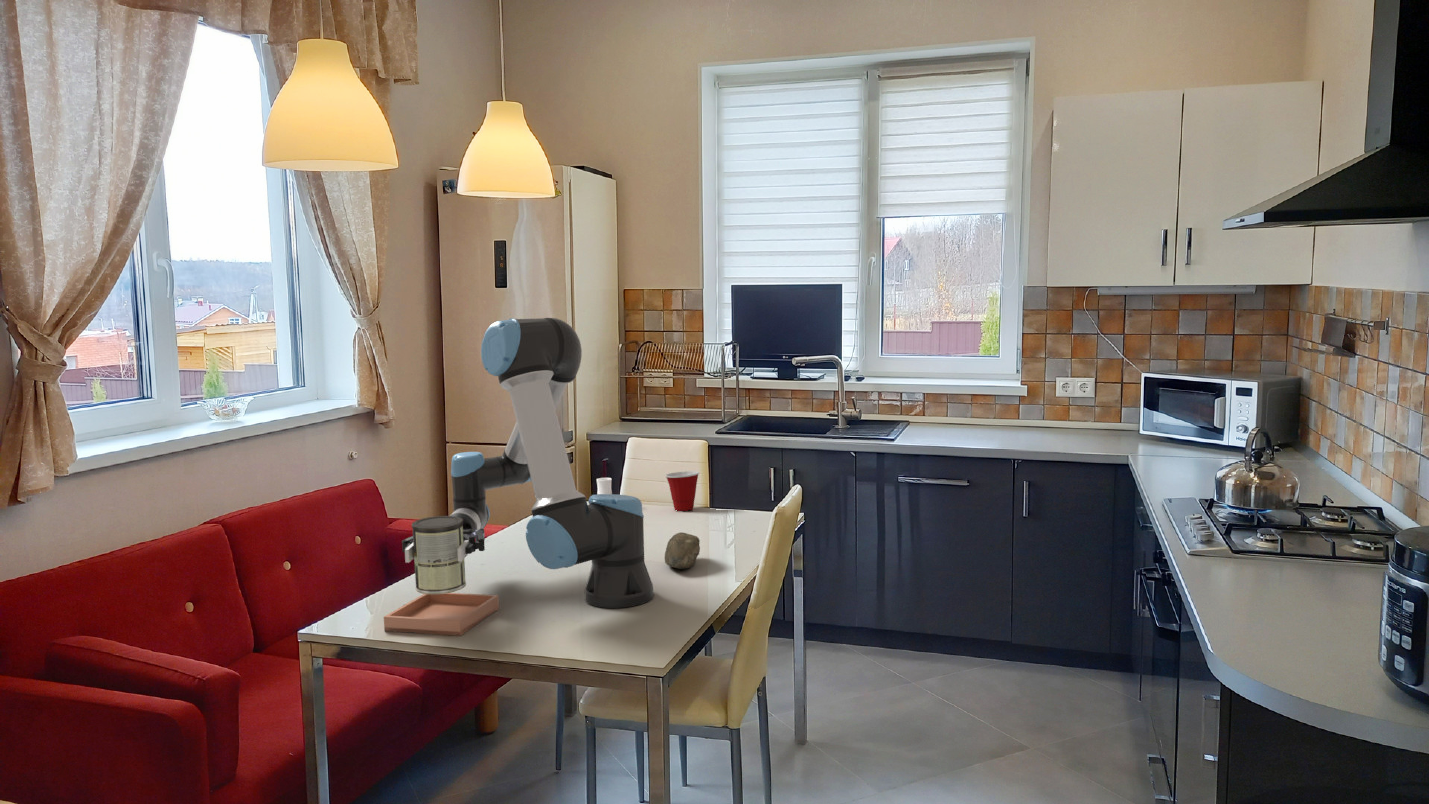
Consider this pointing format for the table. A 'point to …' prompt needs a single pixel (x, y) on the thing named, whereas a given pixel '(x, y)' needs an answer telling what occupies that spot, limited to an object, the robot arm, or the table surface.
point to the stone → (682, 550)
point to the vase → (604, 485)
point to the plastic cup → (683, 489)
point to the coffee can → (438, 554)
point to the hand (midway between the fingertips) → (433, 555)
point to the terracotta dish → (442, 613)
